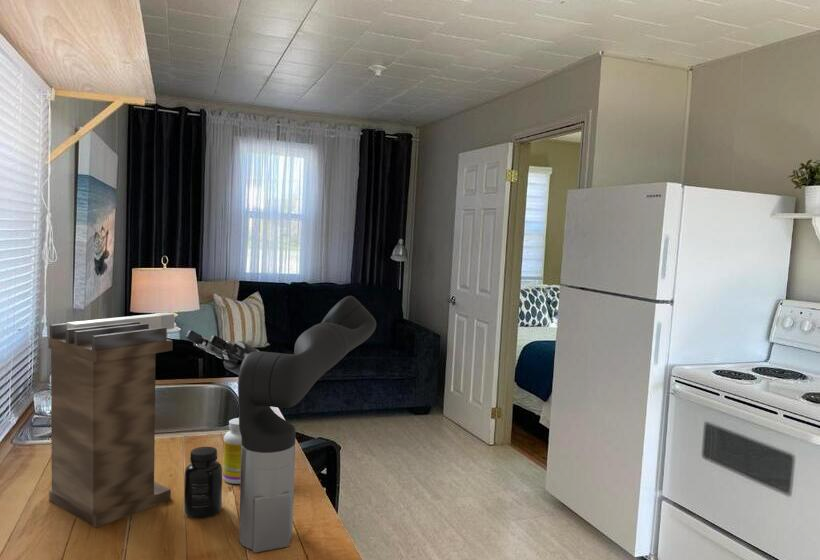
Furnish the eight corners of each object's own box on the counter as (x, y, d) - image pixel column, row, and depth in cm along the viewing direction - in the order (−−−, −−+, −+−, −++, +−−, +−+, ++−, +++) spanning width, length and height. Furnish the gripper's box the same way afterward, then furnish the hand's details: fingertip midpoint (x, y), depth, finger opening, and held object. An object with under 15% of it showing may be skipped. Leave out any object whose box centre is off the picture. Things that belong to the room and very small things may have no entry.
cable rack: (124, 475, 131) (125, 316, 128) (172, 498, 122) (174, 327, 119) (49, 500, 119) (48, 324, 116) (96, 527, 109) (96, 337, 106)
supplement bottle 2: (245, 486, 129) (247, 427, 128) (217, 482, 130) (218, 423, 129) (259, 474, 135) (261, 417, 134) (232, 470, 137) (233, 414, 136)
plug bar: (165, 326, 134) (165, 312, 133) (174, 328, 132) (174, 314, 132) (66, 338, 116) (66, 322, 116) (75, 340, 115) (74, 324, 114)
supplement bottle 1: (229, 508, 119) (230, 448, 118) (204, 523, 113) (205, 460, 112) (201, 500, 122) (202, 441, 121) (175, 514, 116) (176, 452, 114)
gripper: (234, 343, 157) (187, 317, 145) (273, 352, 149) (226, 325, 137) (221, 371, 154) (173, 347, 142) (260, 381, 146) (212, 356, 134)
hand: (199, 336), depth 139 cm, fingers open, 8 cm apart
